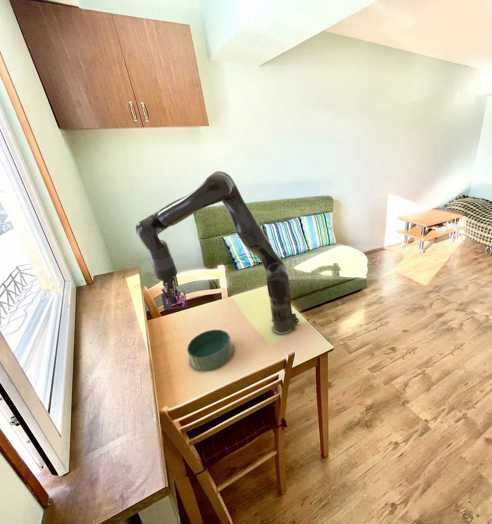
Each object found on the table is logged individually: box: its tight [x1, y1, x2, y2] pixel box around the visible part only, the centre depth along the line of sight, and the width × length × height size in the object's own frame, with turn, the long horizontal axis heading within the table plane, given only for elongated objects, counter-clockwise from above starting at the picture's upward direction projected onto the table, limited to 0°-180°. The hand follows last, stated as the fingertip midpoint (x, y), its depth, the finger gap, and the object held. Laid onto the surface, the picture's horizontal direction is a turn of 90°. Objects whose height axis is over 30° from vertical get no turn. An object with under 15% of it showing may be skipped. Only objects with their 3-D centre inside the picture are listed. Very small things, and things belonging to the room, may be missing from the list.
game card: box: [161, 291, 188, 310], centre depth 119 cm, size 7×5×9 cm
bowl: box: [186, 329, 234, 372], centre depth 116 cm, size 16×16×7 cm
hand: (175, 300), depth 119 cm, fingers closed on game card, 4 cm apart
